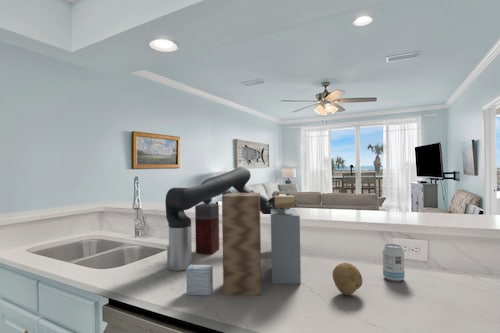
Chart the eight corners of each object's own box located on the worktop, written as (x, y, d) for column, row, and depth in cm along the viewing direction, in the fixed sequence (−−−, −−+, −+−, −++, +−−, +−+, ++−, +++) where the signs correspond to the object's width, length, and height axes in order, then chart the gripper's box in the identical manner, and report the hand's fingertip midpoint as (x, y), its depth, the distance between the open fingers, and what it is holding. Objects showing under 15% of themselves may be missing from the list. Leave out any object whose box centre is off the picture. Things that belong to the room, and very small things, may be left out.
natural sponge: (348, 286, 97) (347, 257, 97) (369, 297, 89) (368, 265, 89) (327, 291, 93) (326, 261, 93) (347, 303, 85) (346, 270, 85)
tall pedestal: (223, 295, 92) (222, 196, 92) (228, 280, 104) (227, 193, 104) (260, 295, 91) (258, 195, 91) (261, 280, 103) (259, 192, 103)
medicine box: (213, 290, 96) (212, 264, 96) (210, 296, 91) (209, 269, 91) (190, 289, 96) (190, 264, 96) (186, 295, 92) (185, 268, 92)
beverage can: (404, 277, 104) (403, 244, 104) (404, 284, 98) (403, 249, 98) (383, 274, 107) (383, 242, 108) (382, 280, 101) (382, 247, 101)
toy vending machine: (221, 248, 146) (220, 193, 146) (212, 254, 136) (211, 196, 136) (205, 247, 149) (204, 193, 149) (195, 253, 138) (194, 195, 138)
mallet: (294, 207, 102) (294, 196, 102) (275, 208, 102) (275, 197, 102) (290, 200, 122) (290, 191, 122) (273, 201, 122) (273, 191, 122)
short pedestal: (272, 283, 100) (271, 215, 101) (271, 267, 117) (270, 209, 117) (300, 283, 100) (299, 215, 100) (295, 267, 116) (295, 208, 116)
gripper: (265, 203, 133) (265, 187, 118) (295, 203, 133) (299, 186, 118) (266, 218, 130) (265, 204, 115) (296, 218, 129) (300, 203, 114)
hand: (282, 195), depth 116 cm, fingers closed on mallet, 3 cm apart
